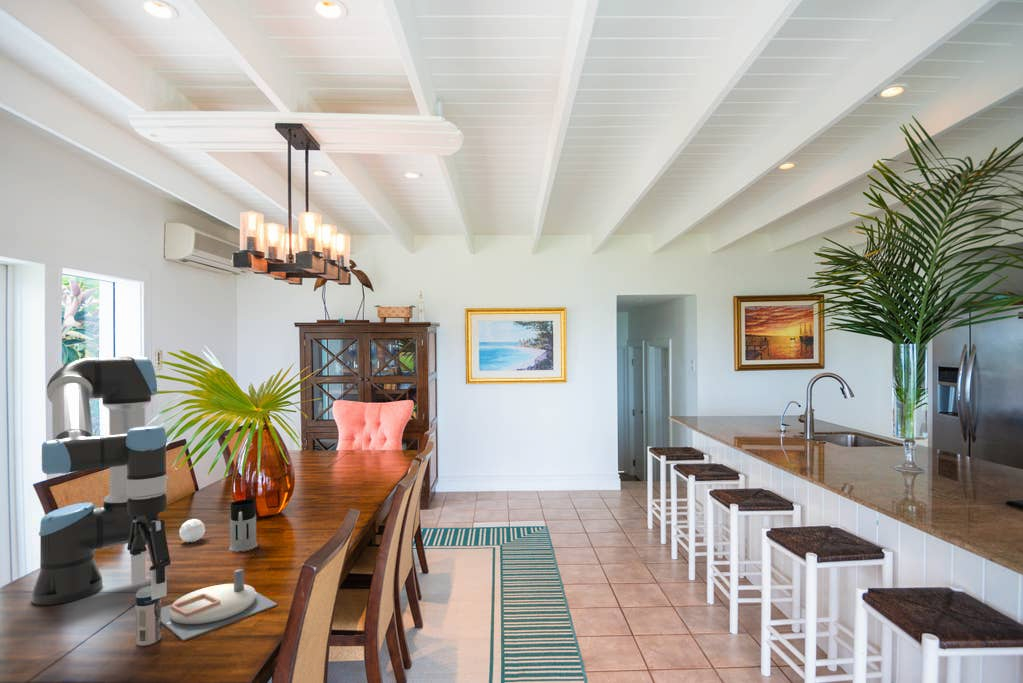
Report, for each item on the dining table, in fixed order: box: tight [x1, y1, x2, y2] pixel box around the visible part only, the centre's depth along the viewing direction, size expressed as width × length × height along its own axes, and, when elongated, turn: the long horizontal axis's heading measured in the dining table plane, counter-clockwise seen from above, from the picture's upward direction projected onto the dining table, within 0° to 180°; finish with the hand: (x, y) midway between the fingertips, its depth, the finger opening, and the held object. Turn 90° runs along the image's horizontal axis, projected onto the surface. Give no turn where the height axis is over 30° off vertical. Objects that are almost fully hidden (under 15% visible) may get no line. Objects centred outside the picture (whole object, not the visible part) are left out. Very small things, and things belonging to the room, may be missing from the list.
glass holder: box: [228, 499, 258, 553], centre depth 183 cm, size 9×14×15 cm, turn 20°
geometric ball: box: [178, 518, 206, 543], centre depth 193 cm, size 8×8×8 cm
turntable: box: [170, 568, 256, 624], centre depth 140 cm, size 19×19×7 cm
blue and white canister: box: [135, 584, 162, 647], centre depth 125 cm, size 5×5×12 cm
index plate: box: [161, 591, 278, 642], centre depth 140 cm, size 22×22×1 cm
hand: (148, 589), depth 125 cm, fingers open, 13 cm apart
